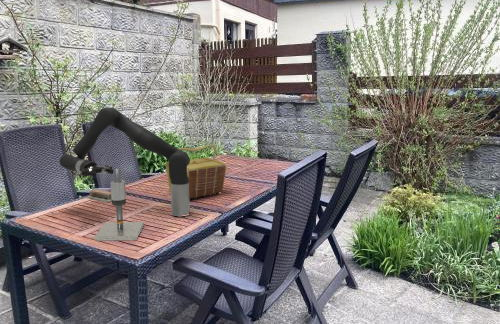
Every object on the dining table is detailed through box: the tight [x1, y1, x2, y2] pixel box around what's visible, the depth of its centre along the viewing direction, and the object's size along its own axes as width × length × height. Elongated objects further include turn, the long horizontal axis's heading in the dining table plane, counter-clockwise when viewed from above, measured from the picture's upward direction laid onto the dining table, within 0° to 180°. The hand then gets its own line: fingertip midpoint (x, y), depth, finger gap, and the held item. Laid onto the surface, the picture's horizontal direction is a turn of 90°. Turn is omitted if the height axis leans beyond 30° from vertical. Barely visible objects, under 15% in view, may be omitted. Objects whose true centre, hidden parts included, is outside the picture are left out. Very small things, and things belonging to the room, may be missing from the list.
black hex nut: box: [111, 198, 127, 207], centre depth 189 cm, size 6×6×2 cm
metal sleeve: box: [110, 179, 127, 201], centre depth 188 cm, size 6×6×8 cm
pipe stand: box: [94, 168, 145, 242], centre depth 189 cm, size 18×18×30 cm
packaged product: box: [86, 188, 112, 204], centre depth 246 cm, size 18×5×10 cm
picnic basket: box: [165, 144, 227, 200], centre depth 253 cm, size 29×26×30 cm
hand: (104, 173), depth 194 cm, fingers open, 8 cm apart
